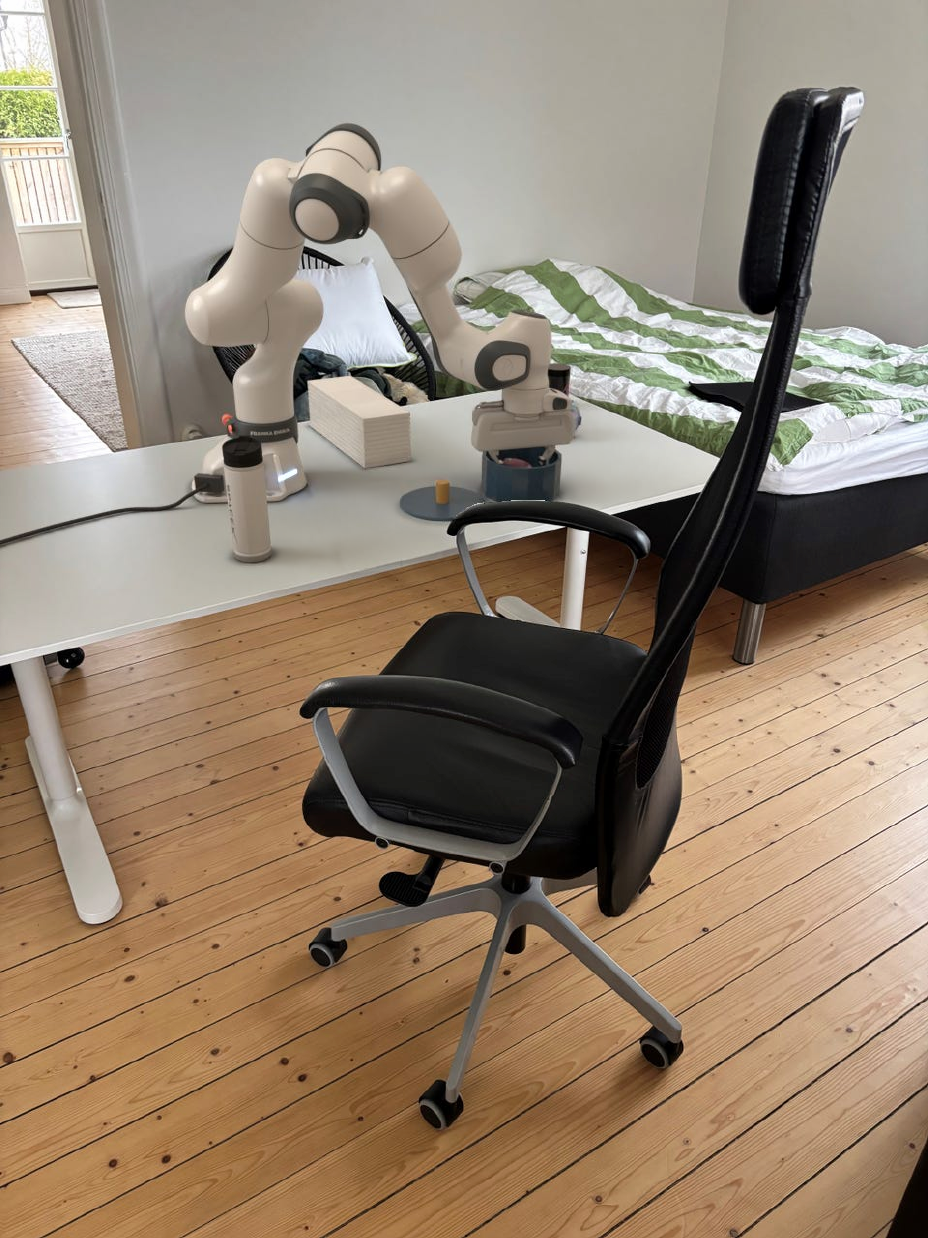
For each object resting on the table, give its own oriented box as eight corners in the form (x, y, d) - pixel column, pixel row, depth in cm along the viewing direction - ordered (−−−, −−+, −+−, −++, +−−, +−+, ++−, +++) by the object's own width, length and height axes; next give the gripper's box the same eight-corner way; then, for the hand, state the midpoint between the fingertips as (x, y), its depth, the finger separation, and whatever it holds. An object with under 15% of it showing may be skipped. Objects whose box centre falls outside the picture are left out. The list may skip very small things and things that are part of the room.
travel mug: (274, 546, 161) (264, 434, 151) (268, 563, 155) (257, 448, 145) (238, 546, 161) (225, 434, 151) (231, 563, 155) (217, 447, 145)
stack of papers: (410, 461, 200) (410, 412, 195) (364, 468, 195) (363, 418, 190) (352, 420, 224) (350, 375, 219) (310, 426, 219) (307, 380, 214)
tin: (496, 511, 176) (497, 471, 172) (471, 483, 189) (472, 445, 185) (570, 503, 180) (574, 464, 177) (541, 476, 193) (544, 439, 189)
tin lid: (411, 528, 169) (411, 501, 166) (391, 495, 182) (390, 470, 180) (496, 519, 173) (497, 493, 171) (469, 488, 187) (470, 463, 184)
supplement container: (554, 413, 232) (557, 371, 227) (535, 406, 237) (538, 365, 232) (573, 408, 236) (576, 367, 231) (554, 402, 241) (557, 361, 236)
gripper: (477, 407, 170) (475, 478, 177) (580, 400, 176) (574, 469, 183) (467, 397, 175) (465, 467, 182) (567, 390, 181) (562, 458, 188)
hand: (521, 468), depth 182 cm, fingers open, 8 cm apart
